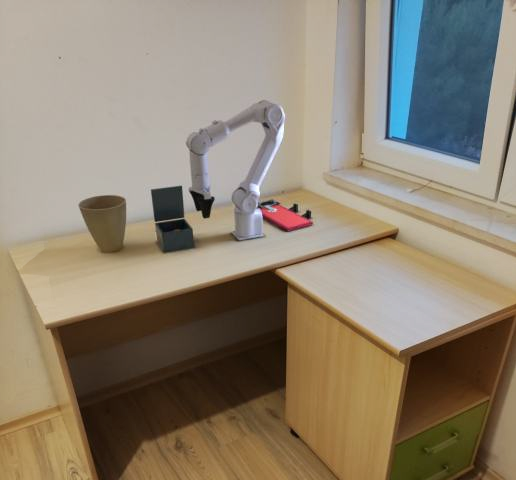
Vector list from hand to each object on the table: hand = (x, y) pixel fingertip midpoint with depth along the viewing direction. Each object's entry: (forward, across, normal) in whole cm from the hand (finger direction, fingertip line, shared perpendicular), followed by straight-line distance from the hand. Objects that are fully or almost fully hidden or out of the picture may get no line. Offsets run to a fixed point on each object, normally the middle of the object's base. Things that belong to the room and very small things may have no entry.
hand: (203, 214), depth 169 cm
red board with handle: (+10, -13, +35) cm, 39 cm away
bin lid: (-3, -6, -10) cm, 12 cm away
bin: (+10, -2, -10) cm, 14 cm away
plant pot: (+10, -8, -31) cm, 34 cm away
